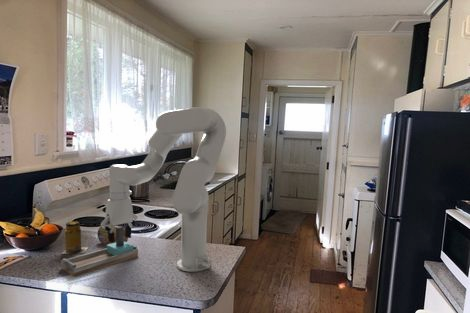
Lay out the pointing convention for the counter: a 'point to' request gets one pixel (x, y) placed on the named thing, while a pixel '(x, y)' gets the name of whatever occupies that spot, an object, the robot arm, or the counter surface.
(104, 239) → the orange brown rounded block
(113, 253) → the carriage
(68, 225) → the condiment
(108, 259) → the rail board
